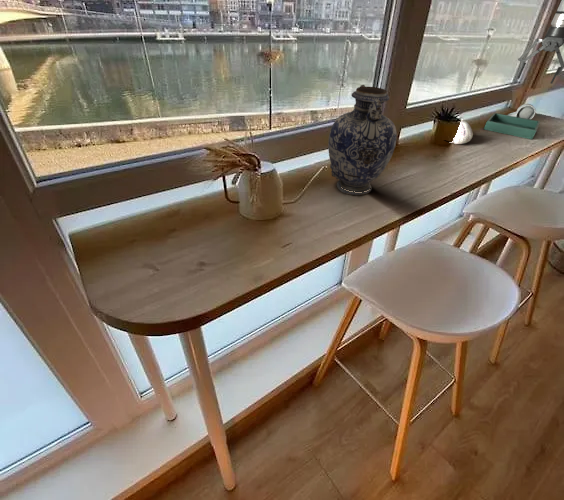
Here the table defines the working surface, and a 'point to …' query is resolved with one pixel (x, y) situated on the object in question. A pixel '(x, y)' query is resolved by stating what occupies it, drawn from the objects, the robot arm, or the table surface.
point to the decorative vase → (361, 142)
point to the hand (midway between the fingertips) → (534, 80)
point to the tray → (512, 125)
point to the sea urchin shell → (463, 133)
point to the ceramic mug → (524, 112)
